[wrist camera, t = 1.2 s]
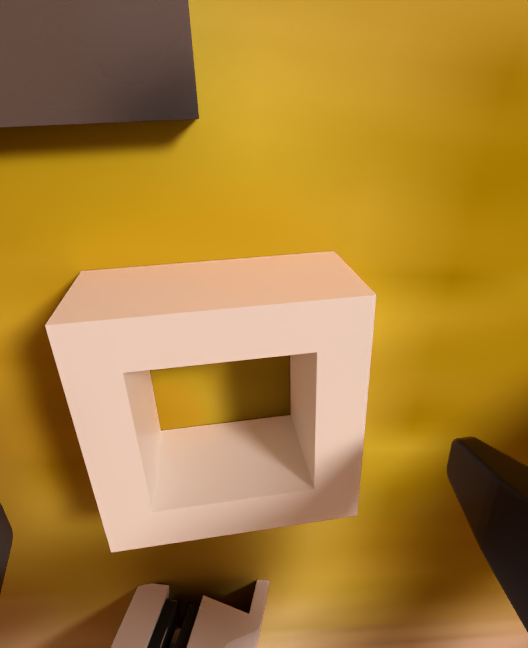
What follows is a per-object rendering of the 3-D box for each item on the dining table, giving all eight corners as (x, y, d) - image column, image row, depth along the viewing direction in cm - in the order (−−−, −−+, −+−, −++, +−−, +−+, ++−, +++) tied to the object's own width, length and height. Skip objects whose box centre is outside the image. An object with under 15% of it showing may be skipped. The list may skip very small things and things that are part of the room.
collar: (333, 250, 12) (376, 295, 9) (326, 440, 14) (357, 515, 12) (81, 271, 11) (44, 325, 8) (127, 465, 14) (110, 552, 11)
